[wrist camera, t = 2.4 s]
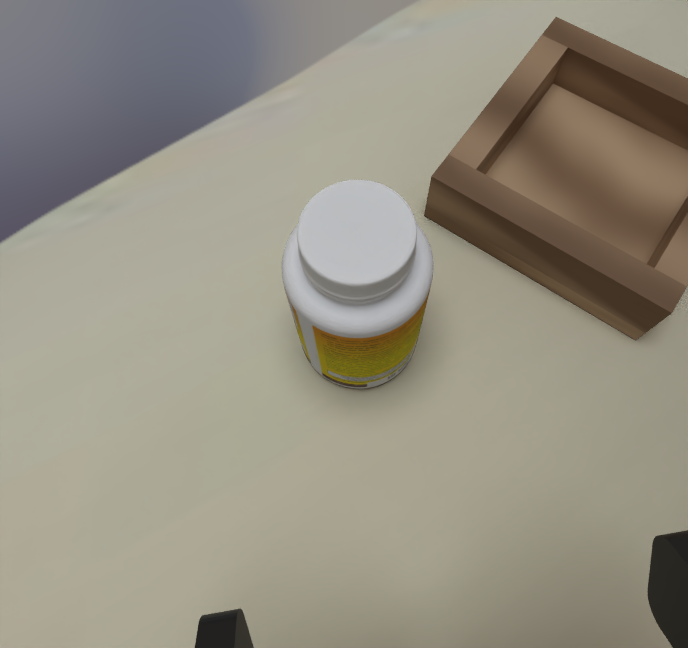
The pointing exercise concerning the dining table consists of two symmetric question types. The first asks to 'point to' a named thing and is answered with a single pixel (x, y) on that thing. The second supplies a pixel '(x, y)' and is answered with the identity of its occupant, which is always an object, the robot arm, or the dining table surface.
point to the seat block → (579, 178)
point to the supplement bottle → (357, 282)
